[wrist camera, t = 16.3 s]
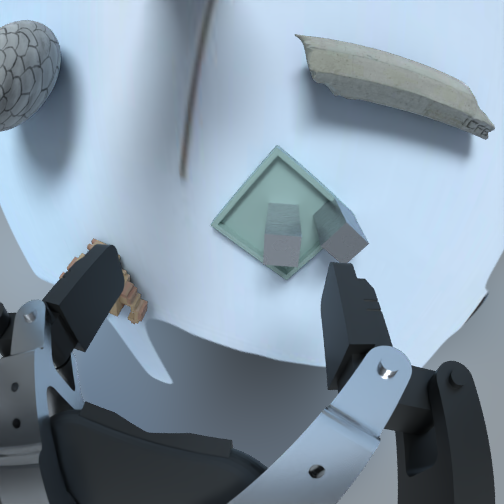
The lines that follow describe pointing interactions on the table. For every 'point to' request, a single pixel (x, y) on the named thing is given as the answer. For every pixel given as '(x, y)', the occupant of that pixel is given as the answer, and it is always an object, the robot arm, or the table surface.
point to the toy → (123, 294)
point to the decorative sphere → (26, 70)
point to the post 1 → (282, 235)
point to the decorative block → (394, 83)
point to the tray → (274, 191)
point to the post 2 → (339, 231)
